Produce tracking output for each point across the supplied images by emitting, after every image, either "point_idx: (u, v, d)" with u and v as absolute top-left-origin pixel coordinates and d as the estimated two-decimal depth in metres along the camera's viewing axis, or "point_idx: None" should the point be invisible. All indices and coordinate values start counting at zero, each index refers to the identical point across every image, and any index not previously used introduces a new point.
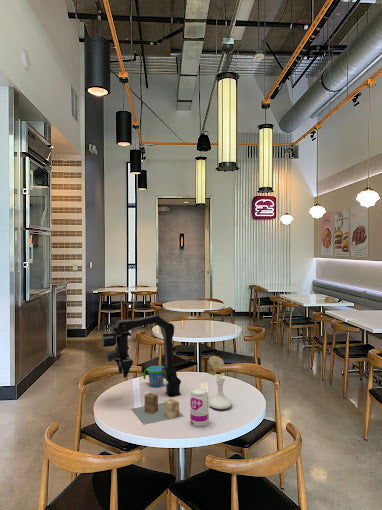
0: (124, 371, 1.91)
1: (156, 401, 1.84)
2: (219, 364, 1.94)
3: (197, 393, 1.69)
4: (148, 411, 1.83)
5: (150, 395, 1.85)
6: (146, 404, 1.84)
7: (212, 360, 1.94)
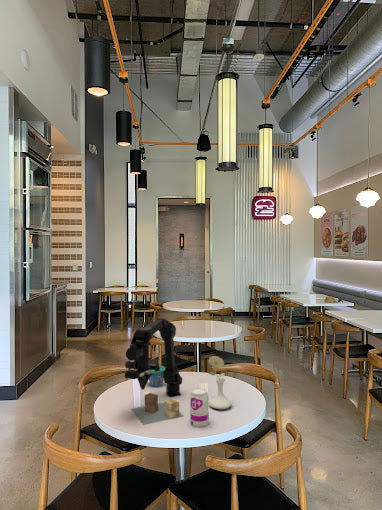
0: (139, 382, 1.79)
1: (156, 401, 1.84)
2: (219, 364, 1.94)
3: (197, 393, 1.69)
4: (148, 411, 1.83)
5: (150, 395, 1.85)
6: (146, 404, 1.84)
7: (212, 360, 1.94)
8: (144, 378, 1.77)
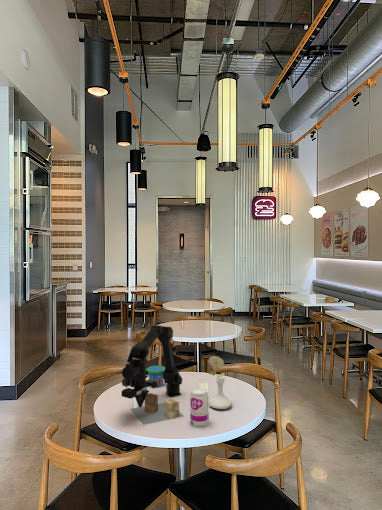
0: (137, 400, 1.77)
1: (156, 401, 1.84)
2: (219, 364, 1.94)
3: (197, 393, 1.69)
4: (148, 411, 1.83)
5: (150, 395, 1.85)
6: (146, 404, 1.84)
7: (212, 360, 1.94)
8: (141, 396, 1.75)
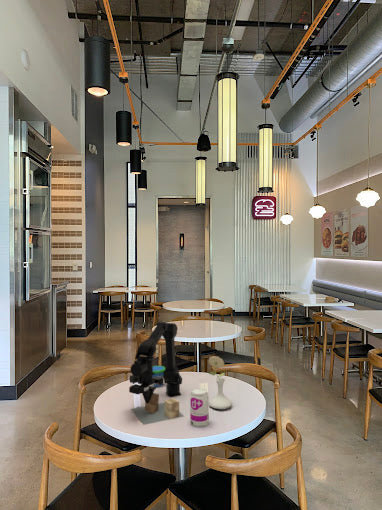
0: (144, 396, 1.81)
1: (157, 400, 1.84)
2: (219, 364, 1.94)
3: (197, 393, 1.69)
4: (148, 410, 1.83)
5: None
6: (147, 403, 1.84)
7: (212, 360, 1.94)
8: (148, 392, 1.79)
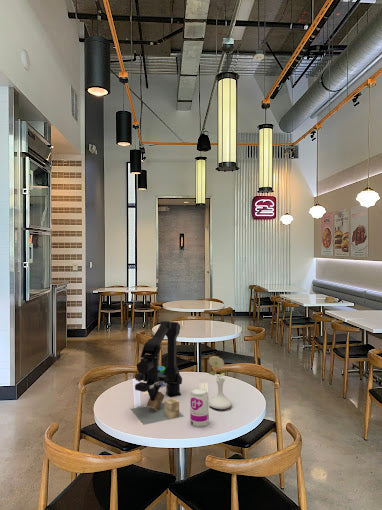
0: (149, 393, 1.85)
1: (161, 400, 1.87)
2: (219, 364, 1.94)
3: (197, 393, 1.69)
4: (150, 405, 1.84)
5: None
6: None
7: (212, 360, 1.94)
8: (154, 390, 1.82)
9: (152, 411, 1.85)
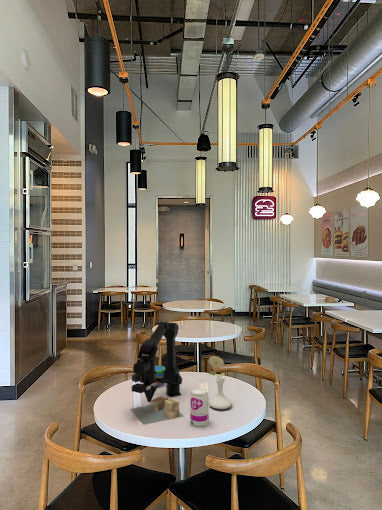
0: (146, 395, 1.82)
1: (164, 405, 1.89)
2: (219, 364, 1.94)
3: (197, 393, 1.69)
4: (154, 401, 1.87)
5: None
6: (156, 399, 1.90)
7: (212, 360, 1.94)
8: (150, 391, 1.80)
9: (152, 411, 1.85)
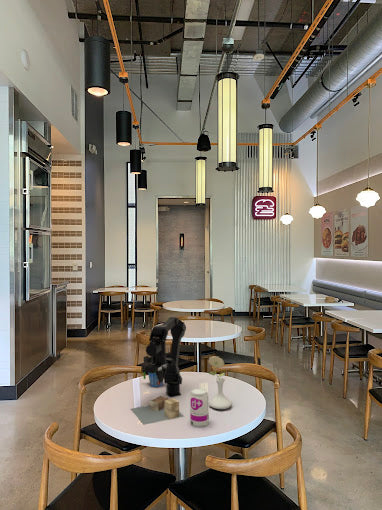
0: (157, 375, 1.92)
1: (164, 405, 1.89)
2: (219, 364, 1.94)
3: (197, 393, 1.69)
4: (154, 401, 1.87)
5: None
6: (156, 399, 1.90)
7: (212, 360, 1.94)
8: (162, 372, 1.90)
9: (152, 411, 1.85)
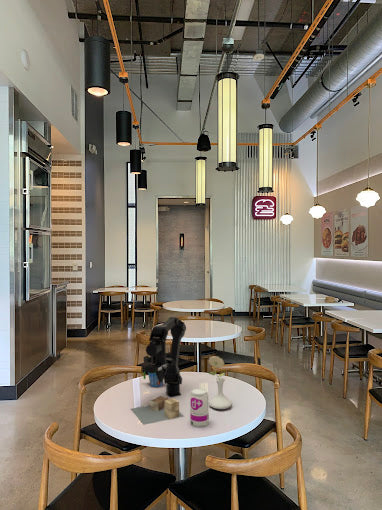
0: (157, 375, 1.92)
1: (164, 405, 1.89)
2: (219, 364, 1.94)
3: (197, 393, 1.69)
4: (154, 401, 1.87)
5: None
6: (156, 399, 1.90)
7: (212, 360, 1.94)
8: (162, 372, 1.90)
9: (152, 411, 1.85)
